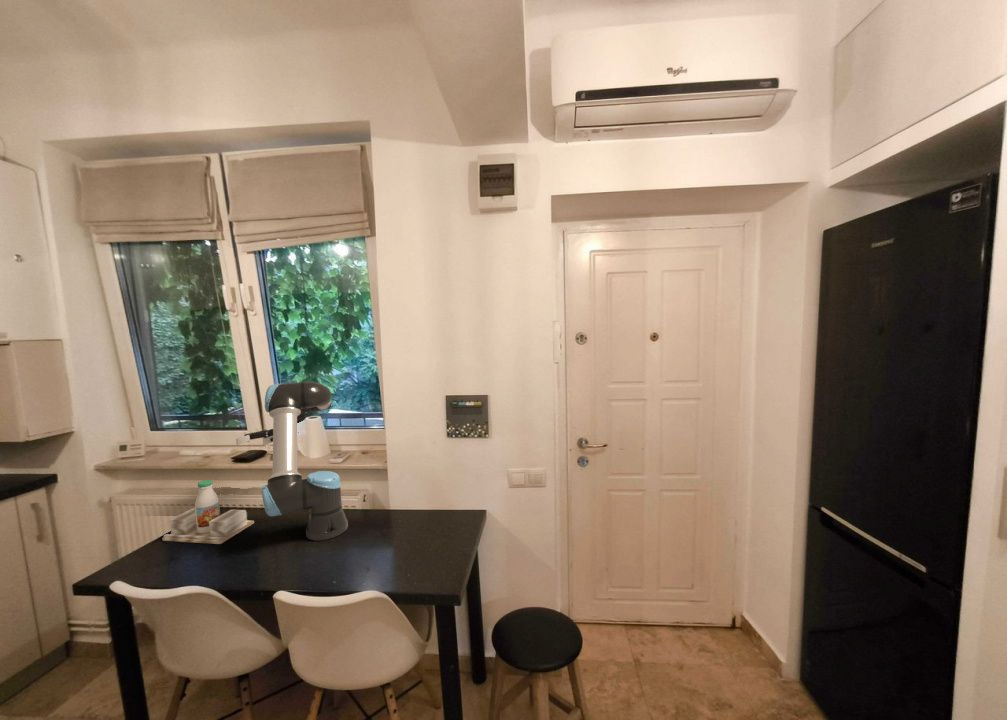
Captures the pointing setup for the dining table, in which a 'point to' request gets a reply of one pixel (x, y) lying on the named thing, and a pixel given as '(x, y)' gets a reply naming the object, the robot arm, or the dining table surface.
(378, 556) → the dining table surface
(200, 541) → the rail board
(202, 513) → the milk bottle
